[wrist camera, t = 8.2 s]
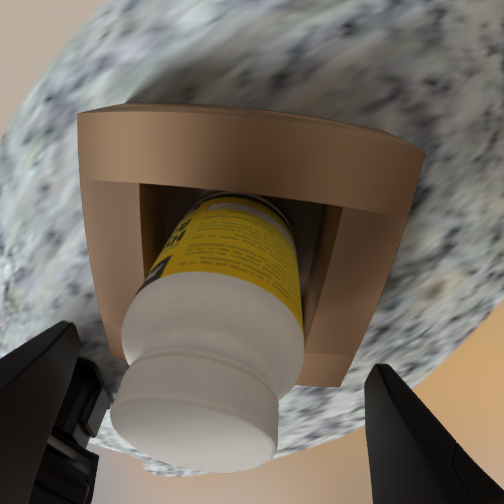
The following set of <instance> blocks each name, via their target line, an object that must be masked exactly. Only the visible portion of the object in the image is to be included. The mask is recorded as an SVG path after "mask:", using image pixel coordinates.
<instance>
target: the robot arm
mask: <svg viewBox="0 0 504 504" xmlns="http://www.w3.org/2000/svg"><path fill="white" fill-rule="evenodd" d="M80 347H81V341H80V338H79V335H78V332H77V329H76V326H75V324H74V323H72V322H69V321H65V320H62V321H60V322H58V323H57V324H55V325H53V326H52V327H50V328H49V329H47V330H45V331H44V332H42V333H40V334H39V335H37V336H36V337H34V338H32V339H31V340H29V341H28V342H26V343H24V344H23V345H21V346H20V347H18V348H16V349H15V350H13V351H12V352H10V353H8V354H7V355H5V356H4V357H2V358H1V359H0V504H91V501H92V498H93V492H94V485H95V478H96V472H97V466H98V460H99V455H97V454H95V453H94V452H90V451H88V450H86V447H87V444H88V441H89V439H90V437H92V438H94V437H96V436H97V433H98V430H99V428H100V425H101V423H102V420H103V418H104V415H105V413H106V410H107V409H110V407H111V403H110V400H109V398H108V395H107V393H106V390H105V388H104V385H103V382H102V380H101V377H100V374H99V372H98V369H97V366H96V365H95V364H94V363H92V362H90V361H86V360H83V359H79V358H77V357H78V354H79V351H80ZM364 393H365V430H366V439H367V447H368V456H369V465H370V475H371V486H372V498H373V504H504V490H503V489H502V488H501V487H500V486H499V485H498V484H497V483H496V482H495V481H494V480H493V479H492V478H490V477H489V476H488V475H487V474H486V473H485V472H484V471H483V470H482V469H481V468H480V467H479V466H478V465H477V464H476V463H475V462H474V461H473V460H472V458H471V457H470V456H469V455H468V454H467V453H466V452H465V451H464V450H463V448H462V447H461V446H460V445H459V444H458V443H456V440H455V439H454V438H453V437H452V436H451V434H450V433H449V432H448V431H447V430H446V429H445V428H444V426H443V425H442V424H441V423H440V422H439V421H438V419H437V418H436V417H435V416H434V415H433V414H432V413H431V411H430V410H429V409H428V408H427V407H426V406H425V405H424V403H423V402H422V401H421V400H420V399H419V398H418V397H417V395H416V394H415V393H414V392H413V391H412V390H411V389H410V388H409V386H408V385H407V384H406V383H405V382H404V381H403V380H402V379H401V377H400V376H399V375H398V374H397V373H396V372H395V371H394V370H393V368H392V367H391V366H390V365H388V364H375V365H374V366H373V368H372V370H371V372H370V373H369V375H368V377H367V379H366V381H365V385H364Z"/></svg>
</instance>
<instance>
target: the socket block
mask: <svg viewBox="0 0 504 504" xmlns="http://www.w3.org/2000/svg"><path fill="white" fill-rule="evenodd" d="M77 124H78V157H79V174H80V187H81V198H82V208H83V216H84V224H85V232H86V239H87V246H88V252H89V258H90V264H91V270H92V275H93V280H94V286H95V291H96V295H97V300H98V305H99V309H100V313H101V318H102V322H103V326H104V330H105V334H106V338H107V341H108V345H109V349H110V352H111V356H112V357H114V358H118V359H123V360H126V357H125V355H124V351H123V347H122V327H123V321H124V318H125V316H126V313H127V311H128V308H129V306H130V305H131V303H132V300H133V299H134V297H135V295H136V293H137V291H138V290H139V288H140V287H141V285H142V284H143V282H144V280H145V278H146V277H147V275H148V273H149V272H150V270H151V268H152V266H153V265H154V263H155V262H156V260H157V258H158V257H159V255H160V253H161V252H162V250H163V248H164V247H165V245H166V244H167V242H168V240H169V239H170V237H171V235H172V234H173V232H174V231H175V229H176V227H177V225H178V223H179V222H180V221H181V219H182V218H183V217H184V215H185V214H186V213H187V212H188V210H189V209H190V208H191V207H192V206H193V205H194V204H196V203H197V202H198V201H200V200H201V199H203V198H205V197H207V196H209V195H212V194H215V193H219V192H225V191H231V192H240V193H248V194H254V195H257V196H260V197H262V198H264V199H266V200H267V201H269V202H270V203H272V204H273V205H274V206H275V207H277V208H278V209H279V210H280V211H281V212H282V214H283V215H284V216H285V218H286V219H287V221H288V222H289V224H290V226H291V229H292V231H293V235H294V239H295V244H296V252H297V263H298V273H299V284H300V296H301V307H302V320H303V332H304V362H303V367H302V370H301V373H300V376H299V378H298V380H297V382H296V383H295V385H302V386H321V387H340V385H341V383H342V381H343V379H344V377H345V375H346V373H347V371H348V369H349V367H350V365H351V363H352V361H353V359H354V356H355V354H356V352H357V350H358V348H359V346H360V343H361V341H362V339H363V337H364V334H365V332H366V330H367V328H368V325H369V323H370V320H371V318H372V316H373V313H374V311H375V308H376V306H377V304H378V301H379V299H380V296H381V293H382V291H383V288H384V286H385V283H386V280H387V278H388V275H389V272H390V270H391V267H392V264H393V261H394V258H395V255H396V253H397V250H398V247H399V244H400V241H401V238H402V235H403V231H404V228H405V225H406V222H407V219H408V215H409V212H410V209H411V205H412V202H413V198H414V195H415V191H416V187H417V184H418V180H419V176H420V172H421V168H422V164H423V160H424V156H425V151H424V150H422V149H420V148H418V147H416V146H414V145H412V144H410V143H408V142H406V141H404V140H402V139H400V138H398V137H396V136H394V135H391V134H389V133H387V132H383V131H379V130H375V129H370V128H366V127H361V126H357V125H352V124H347V123H342V122H337V121H332V120H327V119H321V118H315V117H309V116H303V115H297V114H290V113H283V112H276V111H268V110H259V109H250V108H240V107H229V106H216V105H199V104H174V103H123V104H118V105H113V106H108V107H104V108H99V109H95V110H90V111H86V112H82V113H78V114H77Z"/></svg>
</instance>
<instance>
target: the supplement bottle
mask: <svg viewBox="0 0 504 504" xmlns="http://www.w3.org/2000/svg"><path fill="white" fill-rule="evenodd" d="M122 347H123V351H124V355H125V357H126V360H127V362H128V364H129V368H128V370H127V371H126V373H125V374H124V376H123V378H122V381H121V384H120V387H119V390H118V392H117V395H116V397H115V400H114V402H113V405H112V407H111V411H110V417H111V422H112V425H113V426H114V428H115V430H116V431H117V432H118V434H119V435H120V436H121V437H122V438H123V439H124V440H125V441H126V442H128V443H129V444H130V445H131V446H133V447H134V448H136V449H137V450H139V451H141V452H142V453H144V454H146V455H148V456H150V457H152V458H154V459H157V460H159V461H162V462H164V463H167V464H170V465H173V466H176V467H180V468H185V469H189V470H194V471H202V472H212V473H231V472H240V471H245V470H249V469H253V468H256V467H259V466H261V465H263V464H265V463H266V462H268V461H269V460H270V459H271V458H272V457H273V456H274V454H275V452H276V449H277V442H278V418H279V411H278V407H279V405H278V401H279V400H280V399H282V398H283V397H284V396H285V395H286V394H287V393H288V392H289V391H290V390H291V389H292V388H293V386H294V385H295V383H296V382H297V380H298V378H299V376H300V373H301V370H302V367H303V362H304V332H303V320H302V307H301V296H300V284H299V273H298V263H297V252H296V244H295V239H294V235H293V231H292V229H291V226H290V224H289V222H288V221H287V219H286V218H285V216H284V215H283V214H282V212H281V211H280V210H279V209H278V208H277V207H275V206H274V205H273V204H272V203H270V202H269V201H267V200H266V199H264V198H262V197H260V196H257V195H254V194H248V193H240V192H231V191H225V192H219V193H215V194H212V195H209V196H207V197H205V198H203V199H201V200H200V201H198V202H197V203H196V204H194V205H193V206H192V207H191V208H190V209H189V210H188V212H187V213H186V214H185V215H184V217H183V218H182V219H181V221H180V222H179V223H178V225H177V227H176V229H175V231H174V232H173V234H172V235H171V237H170V239H169V240H168V242H167V244H166V245H165V247H164V248H163V250H162V252H161V253H160V255H159V257H158V258H157V260H156V262H155V263H154V265H153V266H152V268H151V270H150V272H149V273H148V275H147V277H146V278H145V280H144V282H143V284H142V285H141V287H140V288H139V290H138V291H137V293H136V295H135V297H134V299H133V300H132V303H131V305H130V306H129V308H128V311H127V313H126V316H125V318H124V321H123V327H122Z"/></svg>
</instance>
